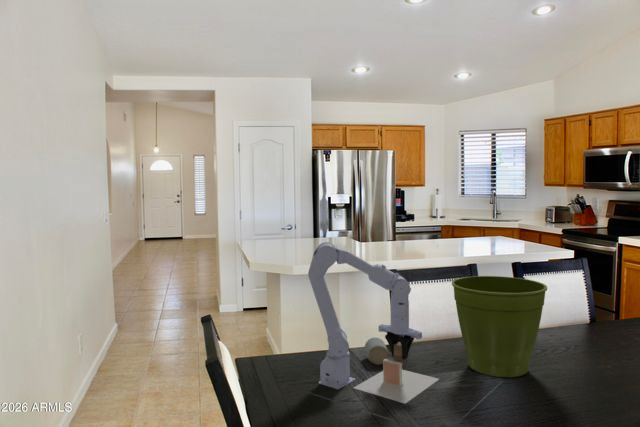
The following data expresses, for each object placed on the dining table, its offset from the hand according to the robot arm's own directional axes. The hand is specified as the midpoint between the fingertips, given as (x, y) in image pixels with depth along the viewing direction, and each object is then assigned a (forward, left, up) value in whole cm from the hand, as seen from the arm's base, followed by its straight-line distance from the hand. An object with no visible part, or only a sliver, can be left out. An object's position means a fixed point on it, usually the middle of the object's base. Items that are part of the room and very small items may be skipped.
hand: (399, 357), depth 157 cm
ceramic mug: (+11, +14, -8) cm, 19 cm away
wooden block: (0, 0, -2) cm, 2 cm away
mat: (-4, -1, -7) cm, 8 cm away
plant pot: (+28, -21, -8) cm, 36 cm away
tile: (-5, 0, -7) cm, 8 cm away
